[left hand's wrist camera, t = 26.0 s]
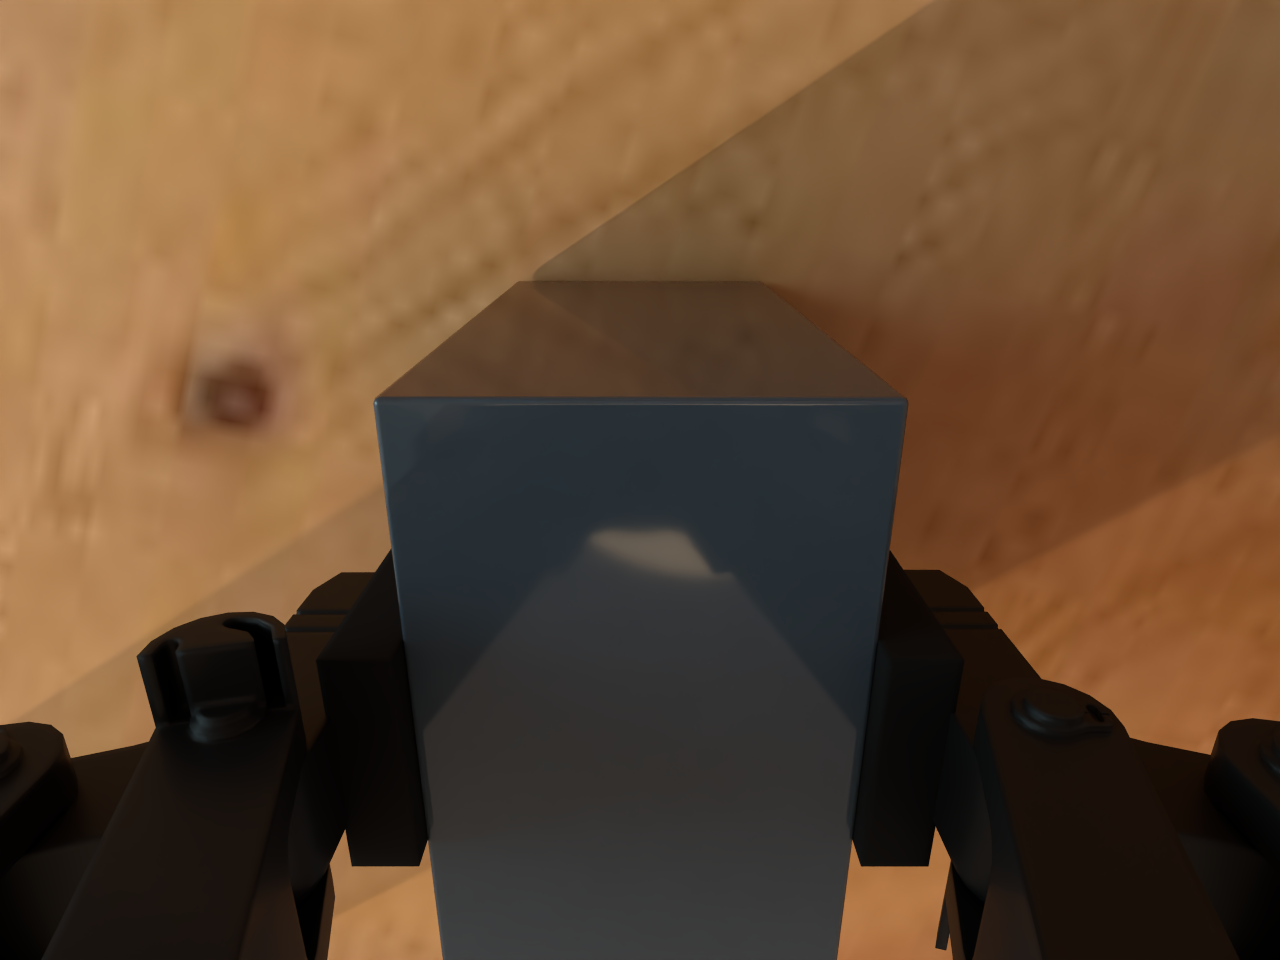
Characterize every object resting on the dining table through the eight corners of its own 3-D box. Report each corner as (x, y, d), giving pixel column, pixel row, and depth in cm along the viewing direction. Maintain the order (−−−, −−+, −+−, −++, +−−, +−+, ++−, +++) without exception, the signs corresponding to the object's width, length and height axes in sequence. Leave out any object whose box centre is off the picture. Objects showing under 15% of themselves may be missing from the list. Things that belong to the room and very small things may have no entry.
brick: (535, 641, 19) (449, 1026, 10) (515, 280, 16) (370, 398, 7) (742, 641, 19) (830, 1025, 10) (763, 281, 16) (911, 397, 7)
